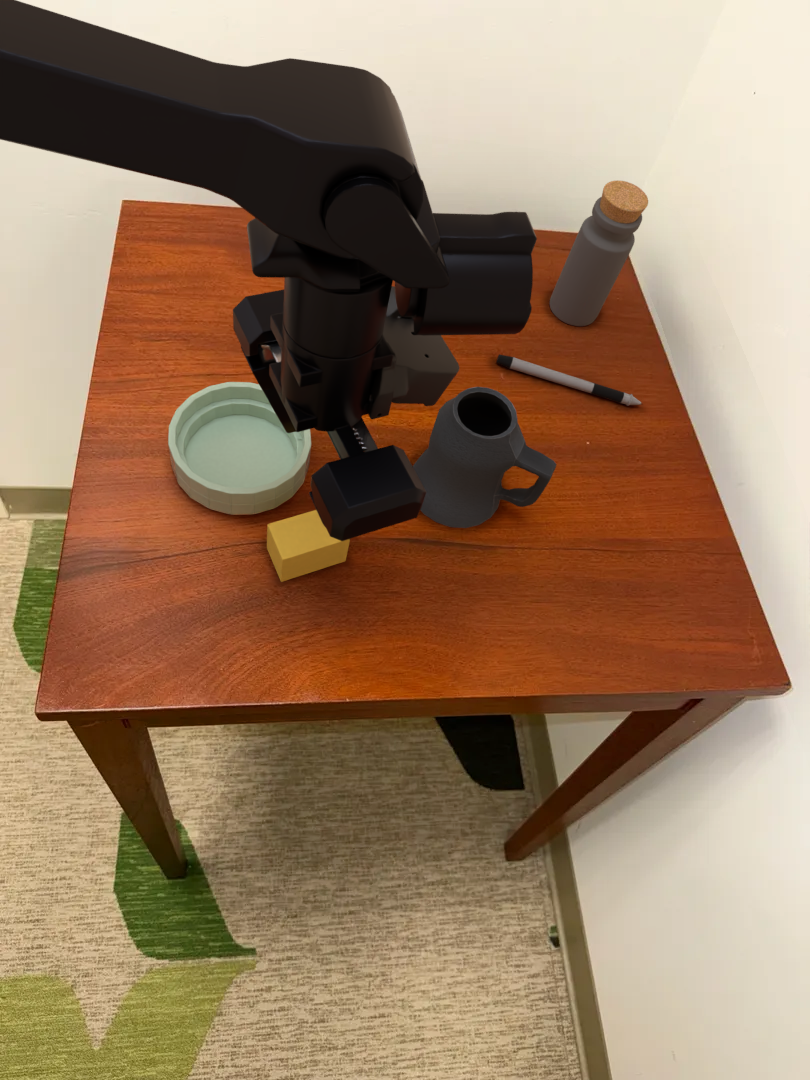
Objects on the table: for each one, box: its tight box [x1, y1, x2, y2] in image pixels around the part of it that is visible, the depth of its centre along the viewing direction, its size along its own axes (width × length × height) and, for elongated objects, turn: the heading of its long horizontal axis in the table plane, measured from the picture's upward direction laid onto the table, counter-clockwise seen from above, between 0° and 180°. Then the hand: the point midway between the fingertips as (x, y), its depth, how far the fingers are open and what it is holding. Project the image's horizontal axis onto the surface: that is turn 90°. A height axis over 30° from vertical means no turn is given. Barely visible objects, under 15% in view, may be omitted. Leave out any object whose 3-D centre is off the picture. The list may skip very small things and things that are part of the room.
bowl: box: [167, 381, 312, 516], centre depth 69 cm, size 12×12×4 cm
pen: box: [496, 354, 642, 407], centre depth 82 cm, size 1×16×1 cm, turn 76°
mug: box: [412, 386, 557, 529], centre depth 68 cm, size 12×9×11 cm
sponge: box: [266, 509, 351, 583], centre depth 65 cm, size 6×4×4 cm, turn 115°
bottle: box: [549, 180, 649, 327], centre depth 83 cm, size 6×6×15 cm
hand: (315, 477), depth 57 cm, fingers open, 9 cm apart
